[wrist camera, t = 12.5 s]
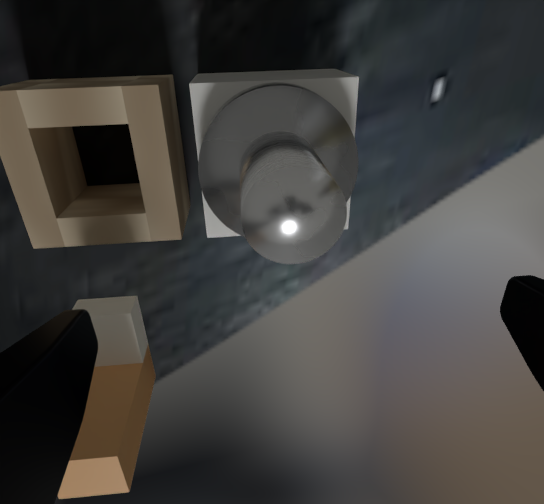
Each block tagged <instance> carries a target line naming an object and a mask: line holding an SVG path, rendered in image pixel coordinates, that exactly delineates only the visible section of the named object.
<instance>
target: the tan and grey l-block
mask: <svg viewBox="0 0 544 504" xmlns="http://www.w3.org/2000/svg"><path fill="white" fill-rule="evenodd" d="M76 309H85V310H87V311H88V313H89V314H90V317H91V320H92V324H93V327H94V330H95V333H96V336H97V340H98V353H97V357H96V362H95V367H94V371H93V376H92V381H91V386H90V390H89V395H88V400H87V404H86V409H85V413H84V417H83V421H82V424H81V427H80V430H79V433H78V436H77V439H76V442H75V445H74V448H73V451H72V454H71V457H70V460H69V463H68V466H67V469H66V472H65V475H64V478H63V481H62V484H61V487H60V490H59V492H58V497H59V499H65V498H74V497H85V496H95V495H103V494H104V495H105V494H115V493H125V492H129V491H130V487H131V482H132V478H133V474H134V469H135V465H136V460H137V456H138V452H139V447H140V442H141V438H142V433H143V430H144V425H145V421H146V416H147V411H148V407H149V403H150V398H151V394H152V390H153V385H154V381H155V371H154V367H153V363H152V358H151V354H150V350H149V345H148V341H147V337H146V332H145V328H144V324H143V319H142V315H141V311H140V306H139V302H138V298H137V296H126V297H112V298H98V299H84V300H77V302H76V304H75V306H74V307H73V309H72V310H76Z"/></svg>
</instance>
